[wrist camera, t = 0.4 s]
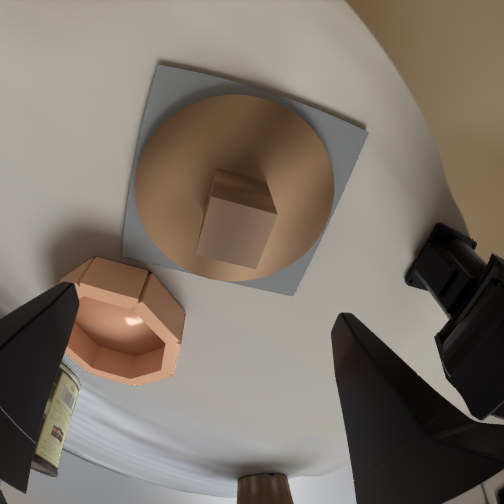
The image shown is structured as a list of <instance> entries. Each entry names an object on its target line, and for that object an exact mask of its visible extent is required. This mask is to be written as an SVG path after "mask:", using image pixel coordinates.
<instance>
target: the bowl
mask: <svg viewBox="0 0 504 504" xmlns="http://www.w3.org/2000/svg"><path fill="white" fill-rule="evenodd" d="M148 273H149V270H145V269H141V268H137V267H133V266H130V265H126V264H122V263H118V262H115V261H111V260H107V259H104V258H100V257H96V258H95V259H94V258H93V257H92V258H91V259H89V260H88V261H86V262H85V263H83V264H82V265H80V266H79V267H77V268H76V269H74V270H73V271H71V272H70V273H68V274H67V275H65V276H64V277H63V278H62V279H61V280H60V282H59V283H58V284H60V283H61V282H63V281H67V282H72V283H74V284H75V286H76V290H77V294H78V298H79V309H78V313H77V316H76V319H75V322H74V325H73V329H72V332H71V336H70V339H69V342H68V345H67V348H66V351H65V353H66V354H67V355H68V356H69V357H71V358H72V359H73V360H74V361H75V362H76V363H77V364H79V365H80V366H81V367H82V368H83V369H85V370H86V371H87V372H89V371H90V374H93V375H97V376H100V377H103V378H106V379H110V380H113V381H117V382H121V383H124V384H128V385H132V386H133V385H136V386H139V385H143V384H147V383H150V382H154V381H158V380H162V379H165V378H169V377H172V375H174V372H175V367H176V363H177V359H178V354H179V350H180V346H181V340H182V334H183V327H184V321H185V315H186V314H184V313H185V311H184V310H183V309H182V307H181V306H180V305H179V304H178V303H177V302H176V300H175V299H174V298H173V297H172V296H171V295H170V293H169V292H168V291H167V290H166V289H165V287H164V286H163V285H162V284H161V283H160V281H159V280H158V279H157V278H156V276H155V275H154V274H153V273H151V274H149V275H148Z"/></svg>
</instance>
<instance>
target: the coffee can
mask: <svg viewBox="0 0 504 504" xmlns="http://www.w3.org/2000/svg"><path fill="white" fill-rule="evenodd" d="M80 389H81V386H80V383H79V381H78V379H77V378H76V376H75V375H74V374H73V373H72V372H71V371H70V370H69V369H68V368H67V367H66V366H65V365H63V364H62V363H61V364H60V366H59V369H58V372H57V375H56V378H55V380H54V383H53V386H52V389H51V392H50V395H49V398H48V402H47V405H46V408H45V412H44V415H43V418H42V422H41V426H40V429H39V433H38V437H37V441H36V443H35V444H36V446H35V450H34V454H33V459H32V464H31V469H33V470H36V471H38V472H40V473H43V474H45V475H48V476H52V477H57V475H58V472H57V470H58V465H59V461H60V457H61V453H62V449H63V445H64V441H65V437H66V433H67V429H68V426H69V423H70V419H71V416H72V413H73V409H74V406H75V403H76V399H77V396H78V393H79V391H80Z"/></svg>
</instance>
